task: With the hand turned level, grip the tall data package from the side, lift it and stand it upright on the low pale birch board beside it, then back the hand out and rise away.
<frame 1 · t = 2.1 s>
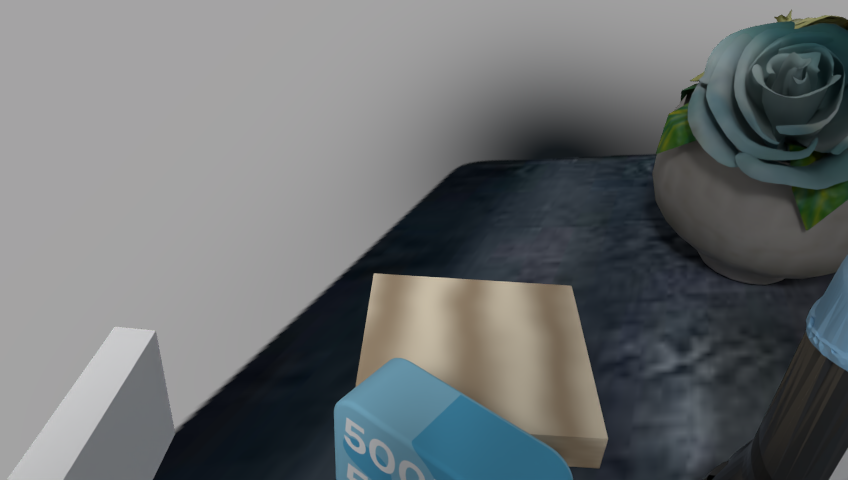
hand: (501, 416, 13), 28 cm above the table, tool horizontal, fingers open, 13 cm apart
flower arrangement: (740, 262, 68), on the table
birch board: (471, 373, 53), on the table
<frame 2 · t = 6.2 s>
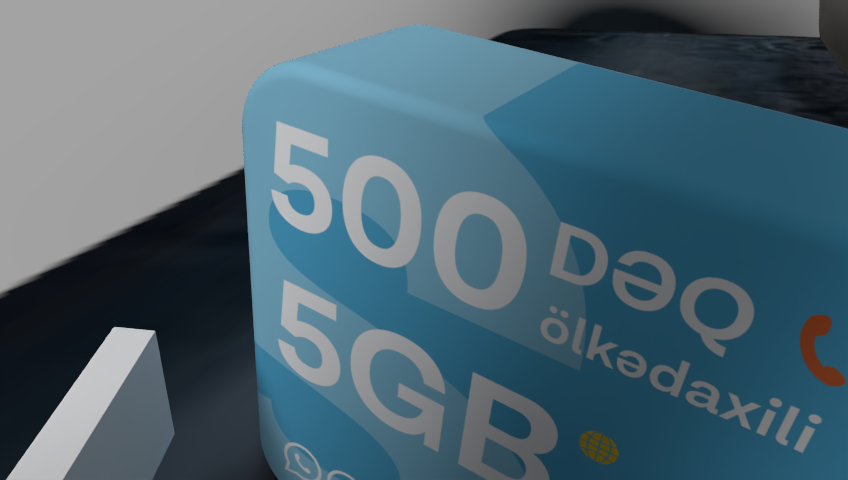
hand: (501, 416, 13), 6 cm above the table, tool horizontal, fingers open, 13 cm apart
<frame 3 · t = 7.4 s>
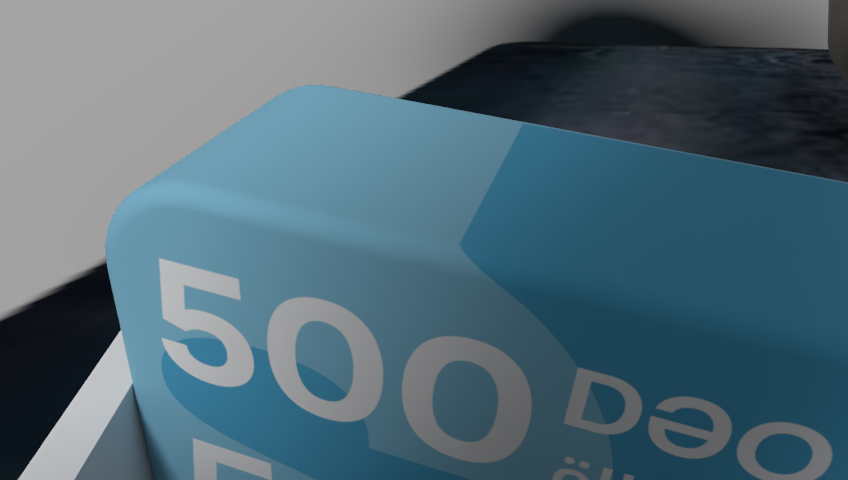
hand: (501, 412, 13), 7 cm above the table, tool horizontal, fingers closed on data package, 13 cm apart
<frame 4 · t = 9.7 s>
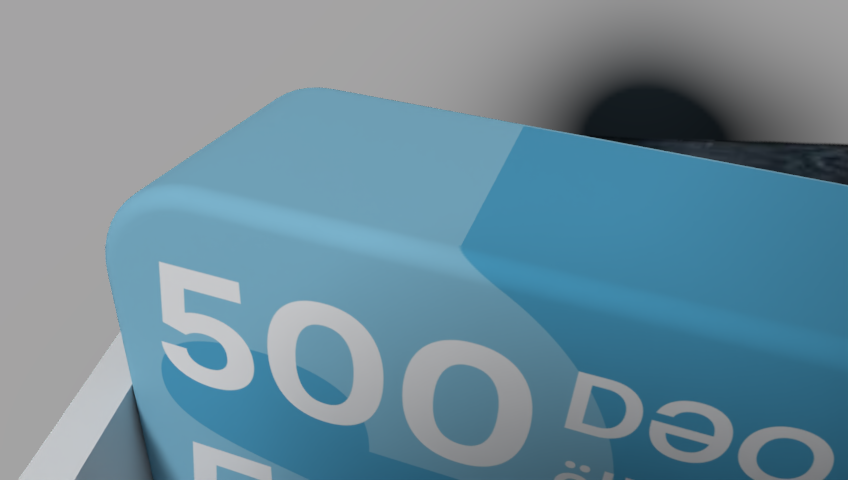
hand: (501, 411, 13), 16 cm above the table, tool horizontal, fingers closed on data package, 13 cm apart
when the fingers open (11 cm above the table, at t = 12.2 s): data package drops 1 cm, resting on birch board.
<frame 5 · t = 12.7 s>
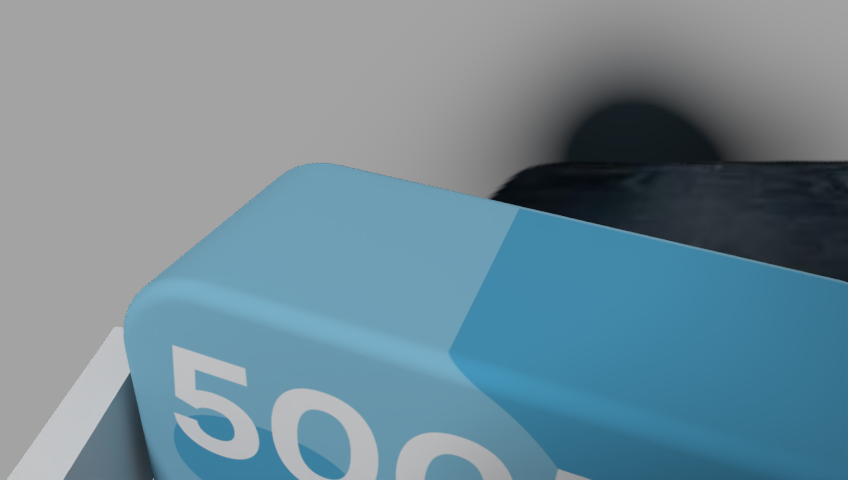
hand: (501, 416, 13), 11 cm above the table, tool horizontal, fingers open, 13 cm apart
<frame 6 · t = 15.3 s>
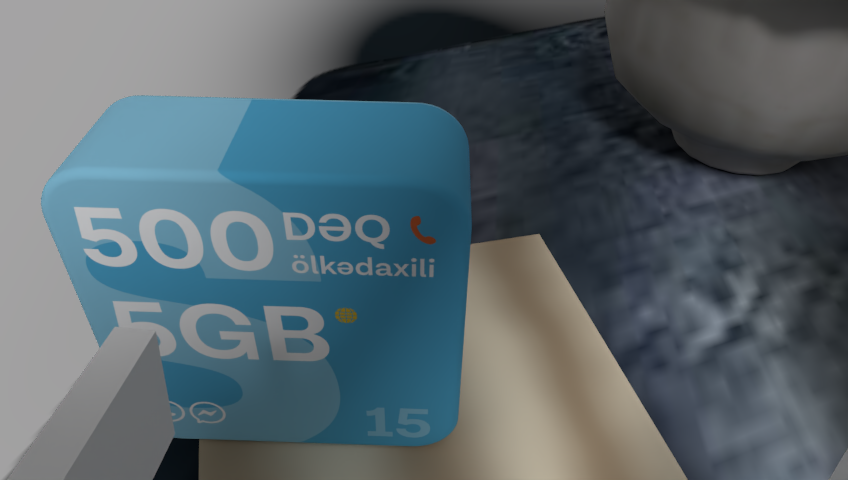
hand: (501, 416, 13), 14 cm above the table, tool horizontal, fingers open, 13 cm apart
flower arrangement: (732, 146, 49), on the table
data package: (305, 399, 27), point 3 cm above the table, touching birch board
birch board: (416, 431, 29), on the table
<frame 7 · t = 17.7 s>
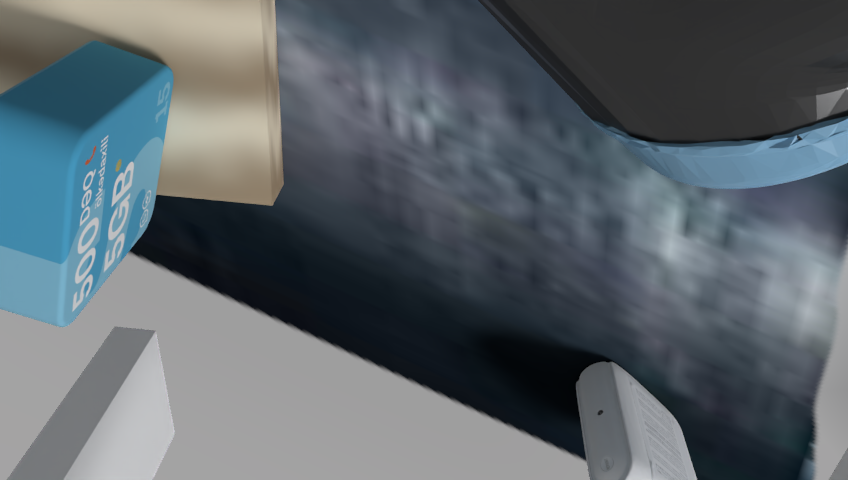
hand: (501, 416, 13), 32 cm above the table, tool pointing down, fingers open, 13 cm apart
data package: (130, 134, 42), point 3 cm above the table, touching birch board
birch board: (147, 51, 42), on the table
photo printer: (625, 397, 56), on the table
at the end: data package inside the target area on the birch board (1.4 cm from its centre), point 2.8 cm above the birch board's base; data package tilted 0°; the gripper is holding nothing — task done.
